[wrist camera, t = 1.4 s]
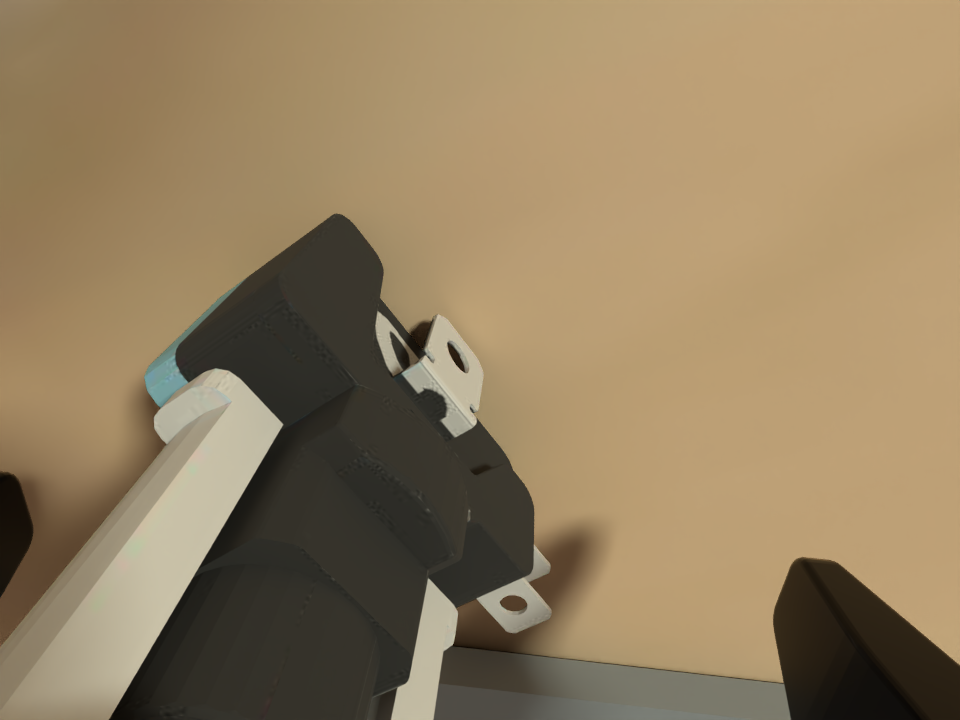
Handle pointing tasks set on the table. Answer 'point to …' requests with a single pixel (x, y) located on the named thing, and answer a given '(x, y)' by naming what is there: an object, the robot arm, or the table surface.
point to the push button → (289, 519)
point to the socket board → (592, 691)
